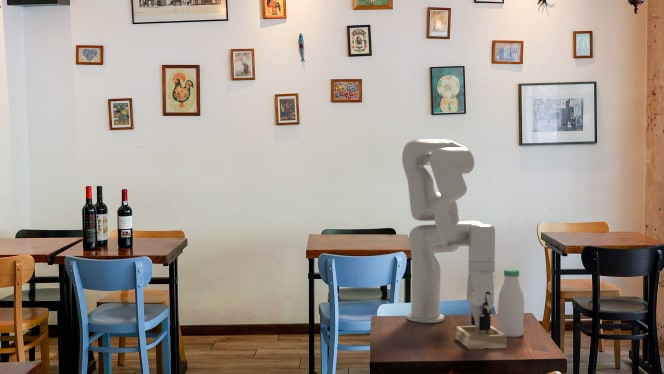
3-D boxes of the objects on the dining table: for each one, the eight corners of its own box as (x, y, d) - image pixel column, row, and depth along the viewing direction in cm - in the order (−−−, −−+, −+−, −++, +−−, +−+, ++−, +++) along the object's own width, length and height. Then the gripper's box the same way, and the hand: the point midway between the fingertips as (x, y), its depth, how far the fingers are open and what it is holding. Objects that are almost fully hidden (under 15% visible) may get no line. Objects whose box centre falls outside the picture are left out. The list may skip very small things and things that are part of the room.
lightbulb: (494, 335, 212) (495, 298, 211) (484, 338, 207) (484, 301, 207) (476, 331, 216) (477, 295, 216) (466, 335, 211) (466, 298, 211)
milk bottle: (524, 338, 217) (525, 272, 216) (497, 336, 219) (499, 271, 218) (522, 331, 225) (523, 268, 224) (497, 330, 227) (498, 267, 225)
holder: (455, 338, 217) (455, 326, 217) (490, 336, 219) (490, 325, 218) (470, 349, 205) (470, 336, 205) (506, 347, 207) (506, 335, 207)
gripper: (459, 262, 218) (458, 321, 219) (480, 271, 202) (479, 335, 202) (482, 261, 220) (481, 320, 221) (505, 270, 203) (504, 334, 204)
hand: (480, 326), depth 212 cm, fingers closed on lightbulb, 5 cm apart
